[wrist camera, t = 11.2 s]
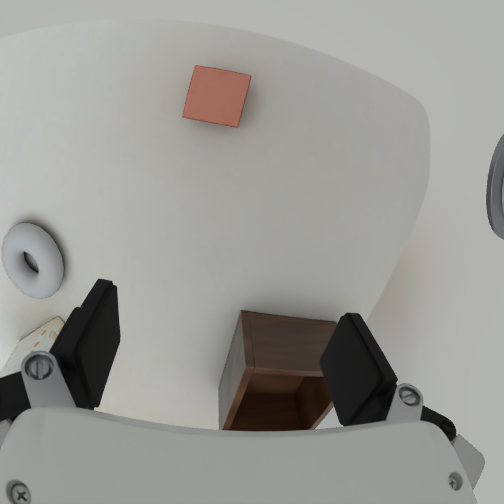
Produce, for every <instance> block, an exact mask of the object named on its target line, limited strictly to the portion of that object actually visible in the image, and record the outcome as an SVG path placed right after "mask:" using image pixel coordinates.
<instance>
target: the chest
mask: <svg viewBox="0 0 504 504" xmlns="http://www.w3.org/2000/svg"><path fill="white" fill-rule="evenodd" d="M336 326H337V322H331V321H321V320H312V319H303V318H294V317H286V316H278V315H270V314H263V313H256V312H249V311H242V310H241V311H240V315H239V318H238V322H237V326H236V329H235V333H234V336H233V340H232V343H231V347H230V350H229V353H228V357H227V360H226V364H225V367H224V371H223V374H222V378H221V381H220V385H219V430H227V431H299V430H314V429H315V428H316V427H317V426H318V425H319V424H320V422H321V421H322V420H323V419H324V418H325V416H326V415H327V414H328V413H329V412H330V410H331V409H332V408H333V406H334V404H333V402H332V399H331V396H330V393H329V390H328V387H327V384H326V382H325V379H324V376H323V373H322V370H321V368H320V363H319V362H320V358H321V356H322V354H323V352H324V350H325V348H326V346H327V344H328V342H329V340H330V338H331V336H332V334H333V332H334V330H335V328H336Z"/></svg>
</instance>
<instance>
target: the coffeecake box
mask: <svg viewBox="0 0 504 504" xmlns="http://www.w3.org/2000/svg"><path fill="white" fill-rule="evenodd" d="M64 324H65V323H64V322H63V321H62V320H61V319H60V318H59V317H58V316H57V317H56V318H54V319H52V320H51V321H49V322H47V323H46V324H44V325H43V326H41V327H40V328H38V329H37V330H35V331H34V332H32V333H31V334H29V335H28V336H26V337H25V338H23V339H22V340H20V341H19V342H18V344H17V346H16V347H15V349H14V351H13V352H12V354H11V356H10V357H9V359H8V360H7V362H6V364H5V365H4V367H3V369H2V371H1V372H0V378H1V377H4V376H7V375H10V374H13V373H15V372H18V371H21V363H22V361H23V359H24V358H25V357H26V356H27V355H28V354H29V353H32V352H34V351H46V352H49V350H50V349H51V347H52V345H53V343H54V341H55V340H56V338H57V336H58V334H59V333H60V331H61V329H62V328H63V326H64Z"/></svg>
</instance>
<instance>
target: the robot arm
mask: <svg viewBox="0 0 504 504" xmlns="http://www.w3.org/2000/svg"><path fill="white" fill-rule="evenodd" d="M502 208H503V213H504V178H503V184H502ZM119 343H120V325H119V313H118V297H117V286H115V285H113V282H112V281H109V280H104V279H98V280H97V281H96V283H95V284H94V286H93V288H92V289H91V291H90V292H89V294H88V295H87V297H86V299H85V300H84V302H83V303H82V305H81V307H76V308H74V310H73V311H72V313H71V314H70V316H69V318H68V319H67V321H66V323H65V324H64V326H63V328H62V329H61V331H60V333H59V334H58V336H57V338H56V340H55V341H54V343H53V345H52V347H51V349H50V350H49V352H46V351H34V352H32V353H29V354H28V355H27V356H26V357H25V358H24V359H23V361H22V363H21V371H18V372H15V373H13V374H10V375H7V376H4V377H1V378H0V504H477V501H476V498H475V495H474V493H473V489H474V487H475V485H476V483H477V481H478V479H479V477H480V475H481V472H482V470H483V468H484V464H485V460H484V457H483V455H482V454H481V453H480V452H479V451H478V450H477V449H476V448H475V447H473V446H472V445H471V444H470V443H468V441H466V440H465V439H464V438H463V437H462V436H461V435H460V434H458V435H457V436H456V429H455V426H454V424H453V422H452V421H451V420H449V419H448V418H446V417H444V416H442V415H440V414H438V413H437V412H435V411H433V410H431V409H429V408H427V407H425V406H423V396H422V394H421V392H420V391H419V390H418V389H417V388H416V387H414V386H412V385H410V384H406V383H403V384H400V385H398V386H397V385H396V382H397V381H398V379H397V377H396V375H395V373H394V371H393V370H392V368H391V366H390V364H389V363H388V361H387V359H386V357H385V356H384V354H383V352H382V351H381V349H380V347H379V345H378V344H377V342H376V340H375V339H374V337H373V335H372V334H371V332H370V330H369V329H368V327H367V325H366V324H365V322H364V320H363V319H362V317H361V316H360V314H358V313H346V314H345V315H344V316H342V317H341V318H340V320H339V322H338V324H337V326H336V328H335V330H334V332H333V334H332V336H331V338H330V340H329V342H328V344H327V346H326V348H325V350H324V352H323V354H322V356H321V358H320V362H319V363H320V368H321V370H322V373H323V376H324V379H325V382H326V384H327V387H328V390H329V393H330V396H331V399H332V402H333V404H334V407H335V410H336V413H337V416H338V419H339V422H340V424H341V425H343V426H344V427H336V428H327V429H317V430H316V429H315V430H299V431H227V430H212V429H200V428H190V427H182V426H174V425H167V424H160V423H154V422H148V421H142V420H137V419H131V418H126V417H121V416H117V415H112V414H108V413H103V412H98V411H93V410H94V407H97V408H98V407H99V405H100V401H101V398H102V395H103V391H104V388H105V385H106V382H107V379H108V376H109V373H110V370H111V367H112V364H113V361H114V358H115V355H116V352H117V349H118V346H119Z"/></svg>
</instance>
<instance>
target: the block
mask: <svg viewBox="0 0 504 504" xmlns="http://www.w3.org/2000/svg"><path fill="white" fill-rule="evenodd" d="M250 80H251V76H250V75H246V74H242V73H237V72H232V71H227V70H222V69H216V68H210V67H204V66H198V65H196V66H195V68H194V72H193V75H192V79H191V83H190V87H189V90H188V94H187V98H186V103H185V107H184V111H183V115H182V117H183V118H188V119H194V120H200V121H206V122H211V123H216V124H221V125H226V126H231V127H236V128H238V125H239V121H240V117H241V113H242V109H243V106H244V102H245V98H246V94H247V91H248V87H249V83H250Z"/></svg>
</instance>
